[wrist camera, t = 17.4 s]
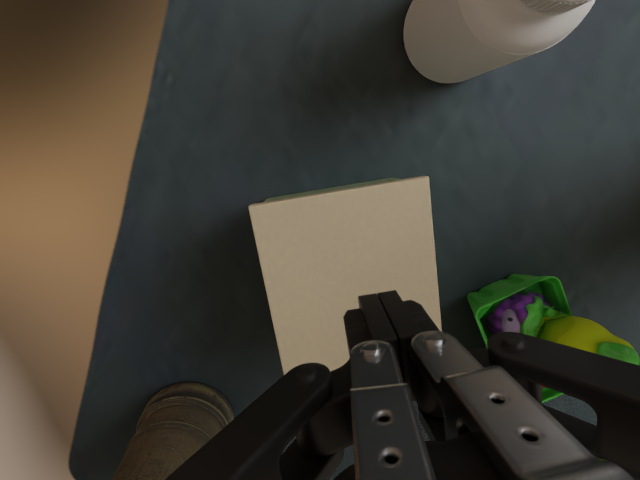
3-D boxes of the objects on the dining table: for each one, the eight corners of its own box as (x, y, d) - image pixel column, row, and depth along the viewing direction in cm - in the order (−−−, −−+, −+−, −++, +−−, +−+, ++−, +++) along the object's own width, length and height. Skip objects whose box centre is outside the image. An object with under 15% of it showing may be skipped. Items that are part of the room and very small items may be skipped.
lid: (249, 204, 24) (247, 206, 23) (425, 175, 24) (429, 176, 23) (289, 392, 27) (288, 399, 27) (441, 367, 27) (445, 373, 27)
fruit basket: (448, 288, 35) (513, 351, 25) (535, 250, 35) (640, 297, 24) (486, 380, 38) (559, 474, 27) (567, 346, 38) (675, 427, 27)
